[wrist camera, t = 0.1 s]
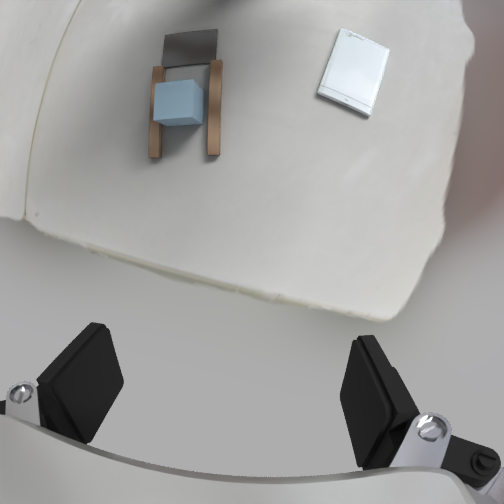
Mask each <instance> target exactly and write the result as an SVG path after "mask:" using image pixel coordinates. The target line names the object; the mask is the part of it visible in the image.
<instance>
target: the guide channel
mask: <svg viewBox="0 0 504 504" xmlns="http://www.w3.org/2000/svg"><path fill="white" fill-rule="evenodd" d="M217 31H218V30H217V29H213V30H201V31H192V32H184V33H177V34H170V35H165V42H164V50H163V60H162V66H156V67H153V76H152V88H151V103H150V124H149V158H159V157H161V154H162V124H161V123H159V122H156V121H154V120H153V116H154V97H155V84H156V83H163V82H164V81H165V69H166V68H169V67H176V66H185V65H195V64H207V63H210V82H209V107H208V148H207V155H220V122H221V89H222V64H223V62H222V60H216V46H217Z"/></svg>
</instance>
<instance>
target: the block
mask: <svg viewBox="0 0 504 504" xmlns="http://www.w3.org/2000/svg"><path fill="white" fill-rule="evenodd" d="M203 100H204V91H203V90H202V88H201V87H200V86H199V85H198V84H197V82H196V81H195V80H194V79H190V80H180V81H171V82H163V83H156V84H155V97H154V116H153V120H154V121H156V122H159V123H161V124H164V125H166V126H181V125H197V124H203Z"/></svg>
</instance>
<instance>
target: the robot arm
mask: <svg viewBox="0 0 504 504" xmlns="http://www.w3.org/2000/svg"><path fill="white" fill-rule="evenodd" d="M37 382H38V384H39V385H38V386H37V387H36V386H35V385H34V384H33V383H31V382H27V381H24V382H19V383H16V384H14V385H13V386H12V387H11V388H9V390H8V392H7V395H6V400H4V401H0V504H504V467H503V468H502V467H501V461H500V457H499V456H498V454H497V453H496V452H495V451H494V450H493V449H490V448H488V447H485V446H482V445H479V444H476V443H473V442H470V441H467V440H464V439H462V438H458V437H456V436H453V435H451V431H452V429H451V425H450V423H449V421H448V420H447V419H446V418H445V417H443V416H442V415H439V414H437V413H431V412H429V413H423V414H420V413H419V411H418V409H417V407H416V405H415V403H414V401H413V399H412V397H411V395H410V393H409V392H408V390H407V388H406V386H405V384H404V383H403V381H402V379H401V377H400V375H399V373H398V372H397V370H396V369H395V368H394V367H392V366H391V364H390V363H389V361H388V359H387V357H386V355H385V354H384V352H383V350H382V348H381V347H380V345H379V343H378V342H377V340H376V338H375V336H374V335H364V336H358V338H357V340H353V342H352V346H351V350H350V355H349V360H348V364H347V368H346V372H345V376H344V380H343V384H342V388H341V391H340V401H341V405H342V408H343V412H344V416H345V419H346V423H347V427H348V431H349V435H350V438H351V442H352V446H353V450H354V454H355V458H356V462H357V466H358V467H362V468H363V471H356V472H349V473H340V474H330V475H317V476H301V477H247V476H231V475H219V474H209V473H202V472H194V471H187V470H181V469H175V468H170V467H165V466H160V465H156V464H151V463H146V462H142V461H138V460H134V459H131V458H127V457H123V456H120V455H116V454H113V453H110V452H107V451H103V450H100V449H97V448H94V447H92V446H89V445H87V443H90V442H91V441H92V439H93V438H94V436H95V434H96V432H97V430H98V429H99V427H100V425H101V423H102V422H103V420H104V418H105V416H106V415H107V413H108V411H109V409H110V408H111V406H112V404H113V402H114V401H115V399H116V397H117V395H118V394H119V392H120V390H121V389H122V387H123V384H124V380H123V376H122V373H121V370H120V366H119V363H118V360H117V356H116V353H115V349H114V345H113V342H112V338H111V334H110V330H109V329H108V328H106V326H105V325H104V324H100V323H93V322H92V323H90V324H89V325H88V326H87V327H86V328H85V329H84V330H83V331H82V332H81V333H80V334H79V335H78V336H77V337H76V338H75V339H74V340H73V341H72V342H71V343H70V344H69V345H68V346H67V347H66V348H65V349H64V350H63V351H62V353H61V354H59V356H58V357H57V358H56V359H55V360H54V361H53V362H52V363H51V364H50V365H49V366H48V367H47V368H46V369H45V371H44V372H43V373H42V374H41V375H40V376H39V377H38V378H37Z"/></svg>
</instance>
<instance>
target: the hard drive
mask: <svg viewBox="0 0 504 504" xmlns="http://www.w3.org/2000/svg"><path fill="white" fill-rule="evenodd" d="M389 53H390V50H389V49H387V48H385V47H383V46H381V45H379V44H377V43H375V42H373V41H371V40H369V39H367V38H365V37H363V36H360V35H358V34H356V33H354V32H352V31H349V30H347V29H344V28H341V29H340V30H339V33H338V36H337V39H336V41H335V44H334V47H333V50H332V52H331V55H330V58H329V61H328V64H327V66H326V69H325V72H324V75H323V77H322V80H321V83H320V86H319V89H318V91H317V94H319V95H322V96H324V97H326V98H329V99H331V100H334V101H336V102H338V103H340V104H343V105H345V106H347V107H349V108H352V109H354V110H356V111H358V112H360V113H362V114H364V115H366V116H368V117H369V116H371V114H372V110H373V107H374V104H375V101H376V97H377V94H378V91H379V88H380V85H381V81H382V78H383V74H384V71H385V67H386V64H387V60H388V57H389Z"/></svg>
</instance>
